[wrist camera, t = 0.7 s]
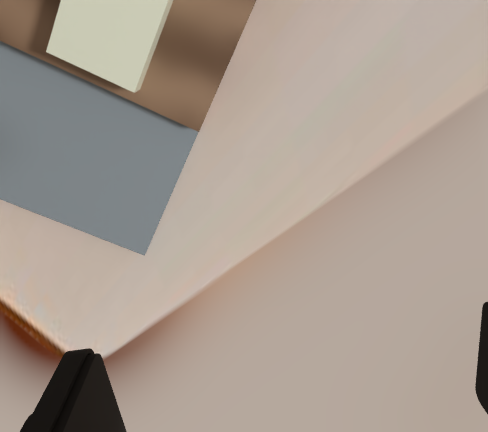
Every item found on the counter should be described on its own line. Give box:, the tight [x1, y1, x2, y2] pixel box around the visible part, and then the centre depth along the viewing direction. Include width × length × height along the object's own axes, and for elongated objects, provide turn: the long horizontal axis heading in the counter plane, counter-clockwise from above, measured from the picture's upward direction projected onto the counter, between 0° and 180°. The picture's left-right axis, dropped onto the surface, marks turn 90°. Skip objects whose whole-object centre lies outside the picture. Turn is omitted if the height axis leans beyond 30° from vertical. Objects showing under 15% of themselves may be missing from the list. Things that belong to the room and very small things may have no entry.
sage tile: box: [46, 0, 173, 93], centre depth 28 cm, size 9×6×2 cm, turn 155°
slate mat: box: [0, 41, 198, 255], centre depth 34 cm, size 12×16×1 cm
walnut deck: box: [0, 0, 256, 132], centre depth 30 cm, size 11×16×2 cm
